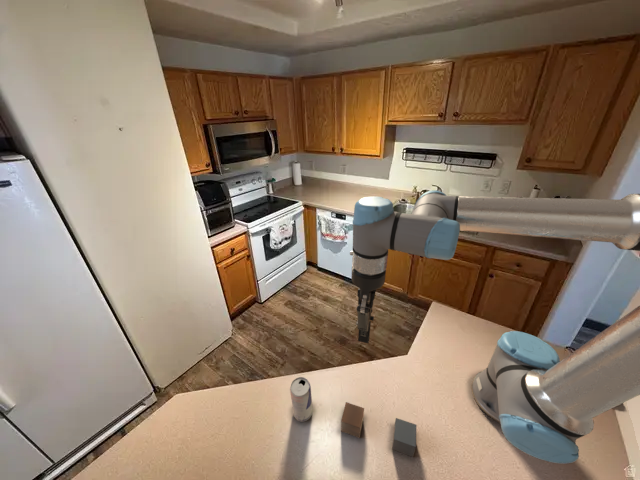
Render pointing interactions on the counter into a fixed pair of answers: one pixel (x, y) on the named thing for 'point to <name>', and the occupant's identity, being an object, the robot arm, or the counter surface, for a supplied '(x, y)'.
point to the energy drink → (301, 399)
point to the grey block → (404, 437)
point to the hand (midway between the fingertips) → (363, 339)
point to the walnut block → (352, 419)
